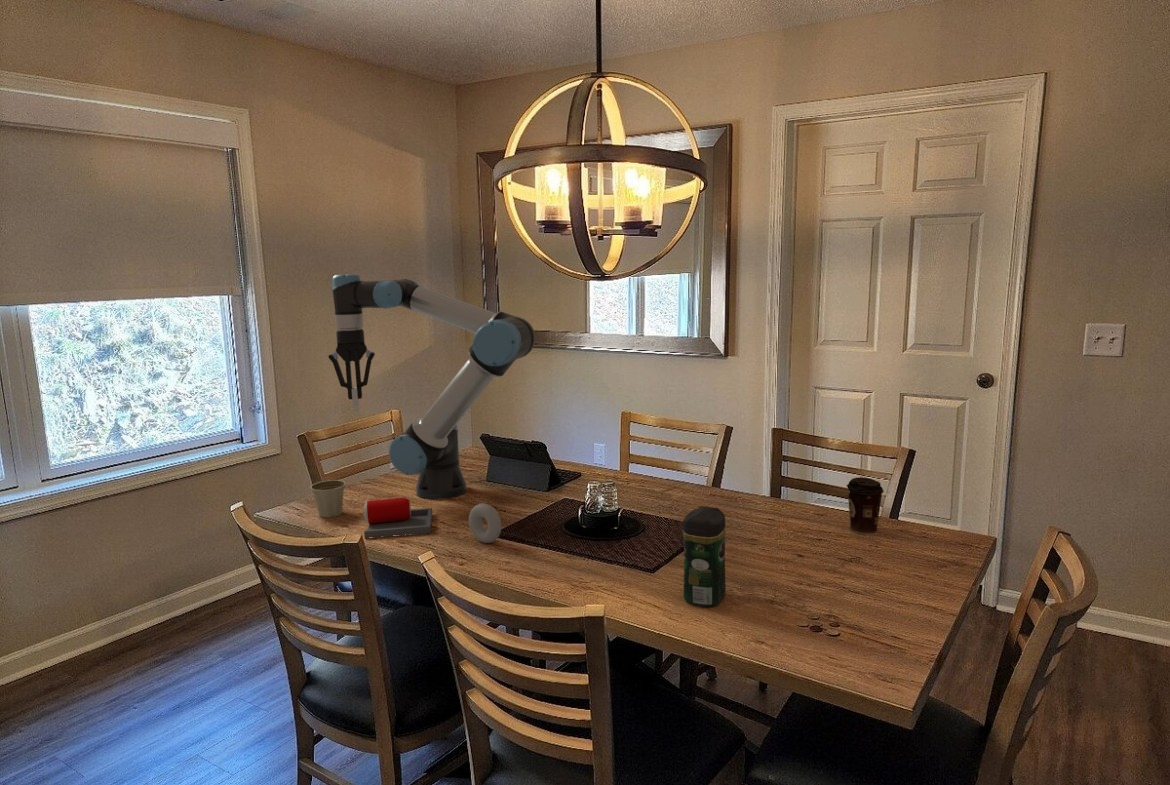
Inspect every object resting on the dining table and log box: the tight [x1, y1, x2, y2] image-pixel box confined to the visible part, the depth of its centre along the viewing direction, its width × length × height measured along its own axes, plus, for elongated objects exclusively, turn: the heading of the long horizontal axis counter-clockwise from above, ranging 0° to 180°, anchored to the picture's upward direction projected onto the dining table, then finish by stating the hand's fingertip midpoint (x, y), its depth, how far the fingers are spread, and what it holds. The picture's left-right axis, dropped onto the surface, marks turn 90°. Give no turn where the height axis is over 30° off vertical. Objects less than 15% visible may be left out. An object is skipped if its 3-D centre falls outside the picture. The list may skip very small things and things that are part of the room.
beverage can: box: [363, 496, 412, 525], centre depth 196 cm, size 6×6×12 cm
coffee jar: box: [682, 505, 727, 607], centre depth 147 cm, size 10×8×19 cm
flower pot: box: [309, 479, 347, 519], centre depth 204 cm, size 9×9×9 cm
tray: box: [363, 507, 433, 540], centre depth 194 cm, size 16×15×2 cm
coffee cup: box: [846, 477, 884, 536], centre depth 182 cm, size 9×8×13 cm
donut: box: [468, 503, 502, 544], centre depth 180 cm, size 10×4×10 cm, turn 54°
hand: (356, 409), depth 211 cm, fingers closed
